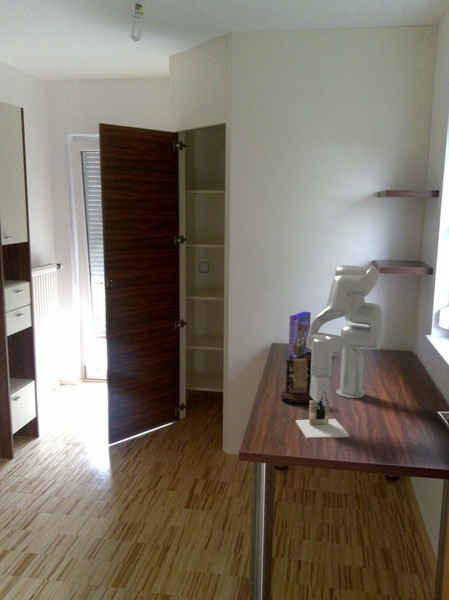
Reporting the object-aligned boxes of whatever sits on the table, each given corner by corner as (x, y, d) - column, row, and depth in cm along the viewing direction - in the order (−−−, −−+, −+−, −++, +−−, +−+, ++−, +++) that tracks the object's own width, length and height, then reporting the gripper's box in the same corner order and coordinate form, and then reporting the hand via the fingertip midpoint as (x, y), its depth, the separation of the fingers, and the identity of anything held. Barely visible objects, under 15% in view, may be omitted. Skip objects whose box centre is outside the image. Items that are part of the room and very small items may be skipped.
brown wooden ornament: (285, 406, 221) (287, 360, 218) (276, 394, 235) (278, 351, 232) (319, 405, 223) (321, 359, 220) (308, 393, 238) (310, 350, 235)
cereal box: (296, 358, 297) (297, 316, 293) (288, 357, 299) (290, 315, 296) (308, 352, 311) (310, 312, 307) (301, 350, 314) (303, 311, 310)
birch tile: (308, 422, 203) (309, 400, 201) (326, 422, 203) (327, 399, 202) (310, 425, 200) (311, 402, 199) (328, 424, 201) (329, 402, 199)
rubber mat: (295, 421, 205) (295, 420, 205) (335, 420, 207) (335, 418, 207) (306, 438, 189) (306, 437, 189) (349, 437, 191) (349, 435, 191)
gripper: (305, 364, 206) (303, 409, 209) (317, 377, 190) (315, 425, 193) (324, 364, 207) (321, 409, 210) (337, 376, 191) (335, 425, 194)
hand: (318, 416), depth 201 cm, fingers open, 3 cm apart
